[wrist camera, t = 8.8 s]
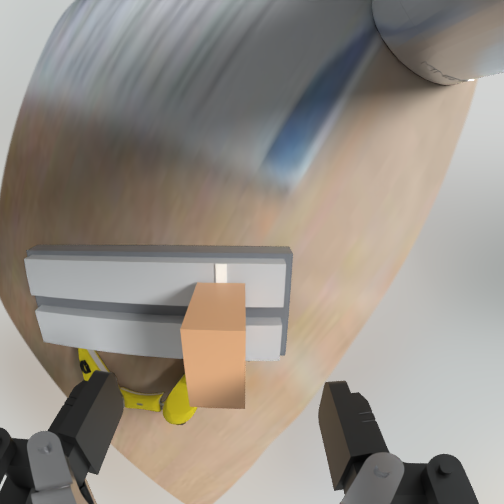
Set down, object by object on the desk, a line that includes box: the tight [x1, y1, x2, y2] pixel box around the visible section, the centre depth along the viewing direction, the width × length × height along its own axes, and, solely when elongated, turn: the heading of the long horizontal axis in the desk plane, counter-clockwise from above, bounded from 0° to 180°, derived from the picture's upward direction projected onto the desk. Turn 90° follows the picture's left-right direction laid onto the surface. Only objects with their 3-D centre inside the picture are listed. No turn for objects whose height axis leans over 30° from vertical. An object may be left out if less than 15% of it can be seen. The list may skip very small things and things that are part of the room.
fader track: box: [24, 245, 293, 361], centre depth 19 cm, size 18×7×3 cm, turn 89°
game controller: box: [78, 348, 197, 425], centre depth 20 cm, size 10×6×4 cm, turn 89°
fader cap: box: [180, 282, 246, 409], centre depth 15 cm, size 3×4×6 cm, turn 179°
